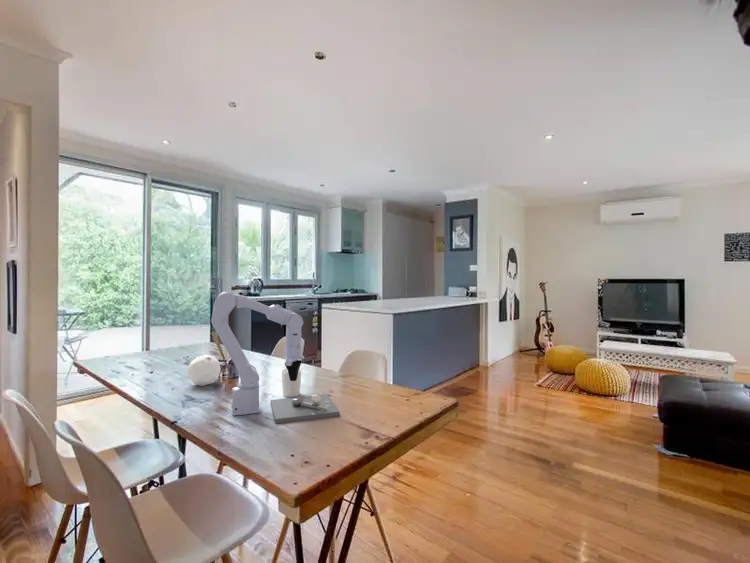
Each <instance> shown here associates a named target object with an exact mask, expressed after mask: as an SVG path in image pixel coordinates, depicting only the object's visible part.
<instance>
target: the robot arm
mask: <svg viewBox="0 0 750 563" xmlns="http://www.w3.org/2000/svg"><path fill="white" fill-rule="evenodd" d="M234 308H236V309H241V308H247V309H249V310H252V311H256V312H259V313H261V314H264V315H265V316H266V319H267V320H268V321H269V320H270V321H272V322H275V323H278V324H279V325H283V326H284V325H286V331H285V332H286V333H285V357H284V358H285V362H284V366H285V367H286V368H285V369H287V370H288V373H289V378H290V381H296V380H297V376H298V371H299V369H301V368H300V367H301V365H302V363H303V360H302V359H305V356H304V355H302V327H303V326H304V320H303V317H302V316H301V315H300V314H298V313H297V312H294V311H293V310H291V309H286V308H284V307H281V305H280V304H272V305H270V306H269V305H266V304H264V303H262V302H259V301H257V300H254V299H252V298H250V297H247V296H246V295H245V296H244V295H242V294H237V293H231V292H229V291H222V292H220V293H219V294H217V297H216V298H215V300H214V303H213V307H212V315H211V319H210V321H211V322H210V323H211V325H212V326H213V329H214V331H215V333H216V334H217V335H218V337H219V339H220V341H221V342H222V345H223V346H224V349H225V350H226V352H227V354H228V355H229V357H230V359H231V361H232V362H233V364H234V366H235V368H236V370H237V372H238V376H239V379H240V382H239V384H238V385H237V386H235V387H232V395H231V396H232V400H231V401H232V403H231V405H230V406H231V408H230V409H232V411H231V412H232V413H231V415H232V416H233V417H234V416H242V415H244V416H245V415H251V414H253V415H254V414H260V413H262V412H261V405H260V375H259V373H258V372H257V371H258V370H257V368H256V367H255V366H254V365H252V364H251V363H250V362H249V360H248V358H247V357H246V355H245V352H244V350H243V349H242V347H241V345H240V343H239V342H238V340H237V338H236V336H235V335H234V333H233V330H232V329H231V327H230V326H229V324H228V321H227V320H228V318H229V315H230V313H231V312H232V311H233V310H234Z"/></svg>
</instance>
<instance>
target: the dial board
mask: <svg viewBox="0 0 750 563" xmlns="http://www.w3.org/2000/svg"><path fill="white" fill-rule="evenodd" d="M301 397H302V398H303V402H307V403H312V395H310V396H301ZM293 398H294V397H286V398H279V399H278V398H276V399H270V403H269V404H270V408H271V411H272V412H271V413H272V417H273V421H274V424H282V423H284V424H285V423H291V422H298V421H299V422H301V421H308V420H315V419H316V420H317V419H325V418H326V419H327V418H333V417H335V418H336V417H340V410H339V409H338V407H337V406H336V405H335V403H334V402H333V401H332V399H331V398H330V396H329V395H328V394H320V406H321V407H326V408H327V410H324V409H319V408H311V407H306V406H293V405H292V399H293Z"/></svg>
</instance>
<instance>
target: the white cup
mask: <svg viewBox="0 0 750 563" xmlns="http://www.w3.org/2000/svg"><path fill="white" fill-rule="evenodd" d="M301 379H302V369H301V368H299V371H298V376H297V380H296V381H290V378H289V373H288V370H287V368H284V369H282V370H281V383H282V384H281V385H282V395H283V397H286V398H295V397H299V396H300V394H301V384H302V380H301Z"/></svg>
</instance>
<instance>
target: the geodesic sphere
mask: <svg viewBox="0 0 750 563" xmlns="http://www.w3.org/2000/svg"><path fill="white" fill-rule="evenodd" d="M187 370H188V371H187V374H188V379H189V380H190V381H191V382H192V383H193V384H194V385H198V386H201V387H205V386H209V385H212V384H213V383H214V382H215V381H217V380H218V379H219V376H220V373H221V364H220V361H219V360H218V359H217V358H216V357H215V356H213V355H209V354H202V355H201V354H200V356H197V357H196V358H195V359H193V360H191V361H190V363H189V366H188V369H187Z"/></svg>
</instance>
